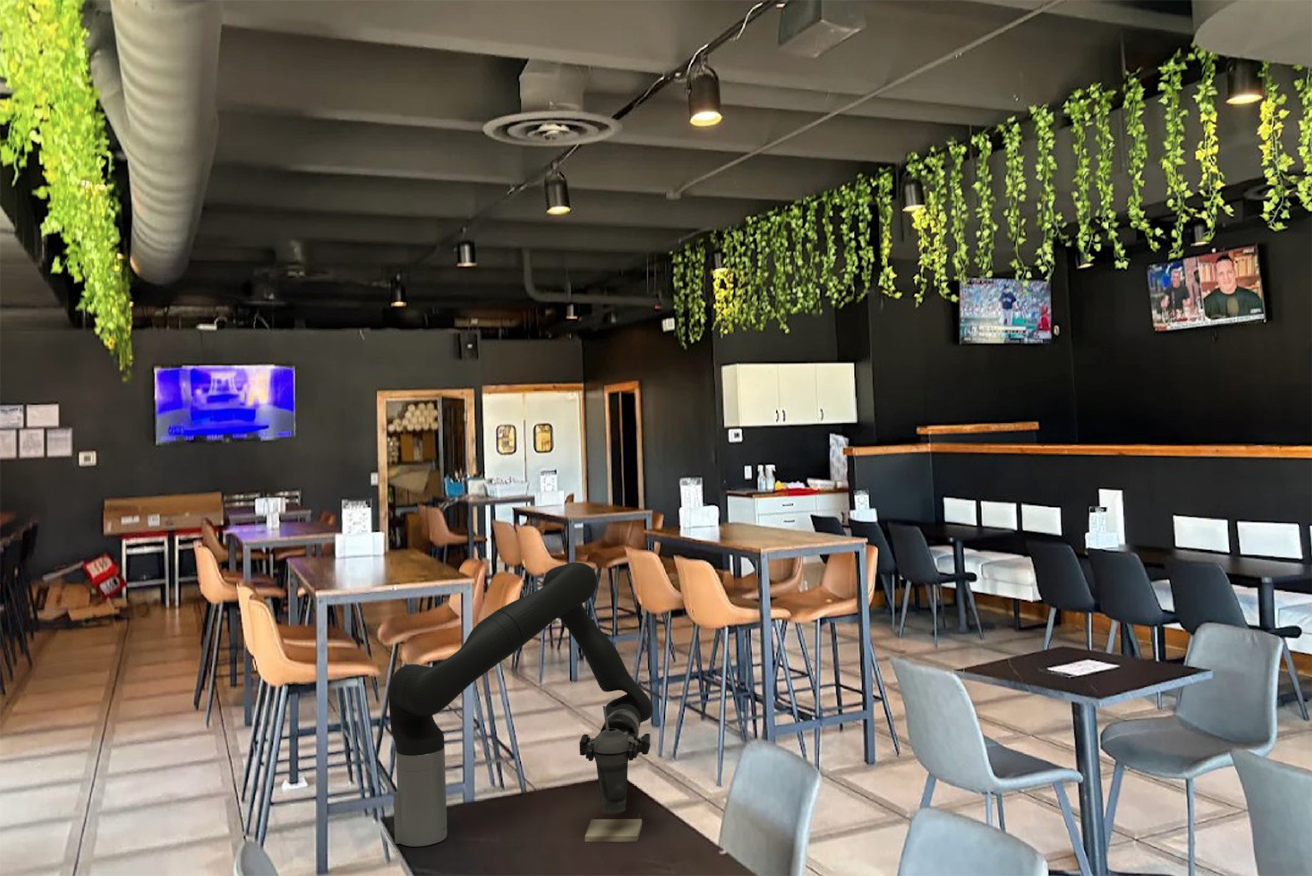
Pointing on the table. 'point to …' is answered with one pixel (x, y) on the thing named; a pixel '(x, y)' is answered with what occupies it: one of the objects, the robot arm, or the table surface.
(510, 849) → the table surface
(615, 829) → the birch coaster
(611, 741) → the beverage cup
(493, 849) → the table surface
